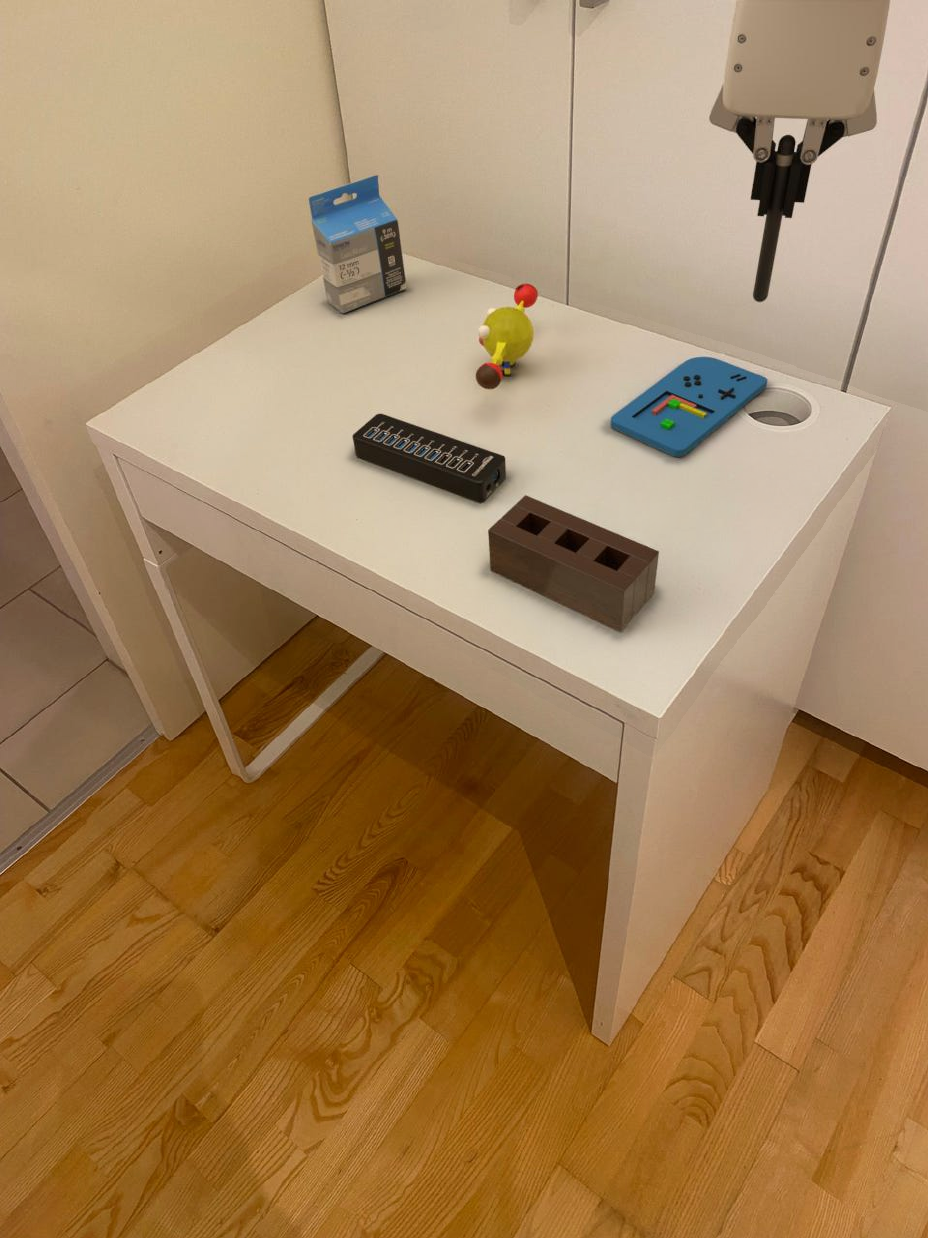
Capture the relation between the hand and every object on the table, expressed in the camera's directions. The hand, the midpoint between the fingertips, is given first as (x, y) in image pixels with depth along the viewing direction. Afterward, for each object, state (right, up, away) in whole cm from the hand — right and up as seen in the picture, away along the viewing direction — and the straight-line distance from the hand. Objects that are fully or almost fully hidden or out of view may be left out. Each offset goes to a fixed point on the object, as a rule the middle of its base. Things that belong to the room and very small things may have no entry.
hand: (775, 208), depth 74 cm
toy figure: (-20, -6, +25) cm, 33 cm away
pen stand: (-15, -29, +3) cm, 33 cm away
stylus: (+1, -5, +6) cm, 8 cm away
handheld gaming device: (-2, -11, +19) cm, 22 cm away
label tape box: (-35, +6, +38) cm, 52 cm away
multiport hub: (-27, -18, +15) cm, 36 cm away
